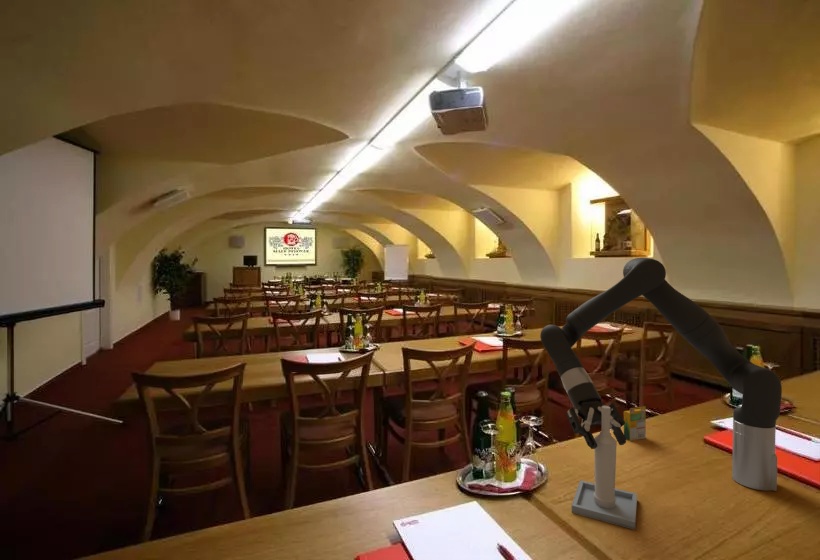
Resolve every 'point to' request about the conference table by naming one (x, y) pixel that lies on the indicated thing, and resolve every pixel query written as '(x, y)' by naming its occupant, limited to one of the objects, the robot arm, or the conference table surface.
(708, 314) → the robot arm
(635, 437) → the crayon box
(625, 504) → the tray
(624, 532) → the conference table surface
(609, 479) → the bottle
